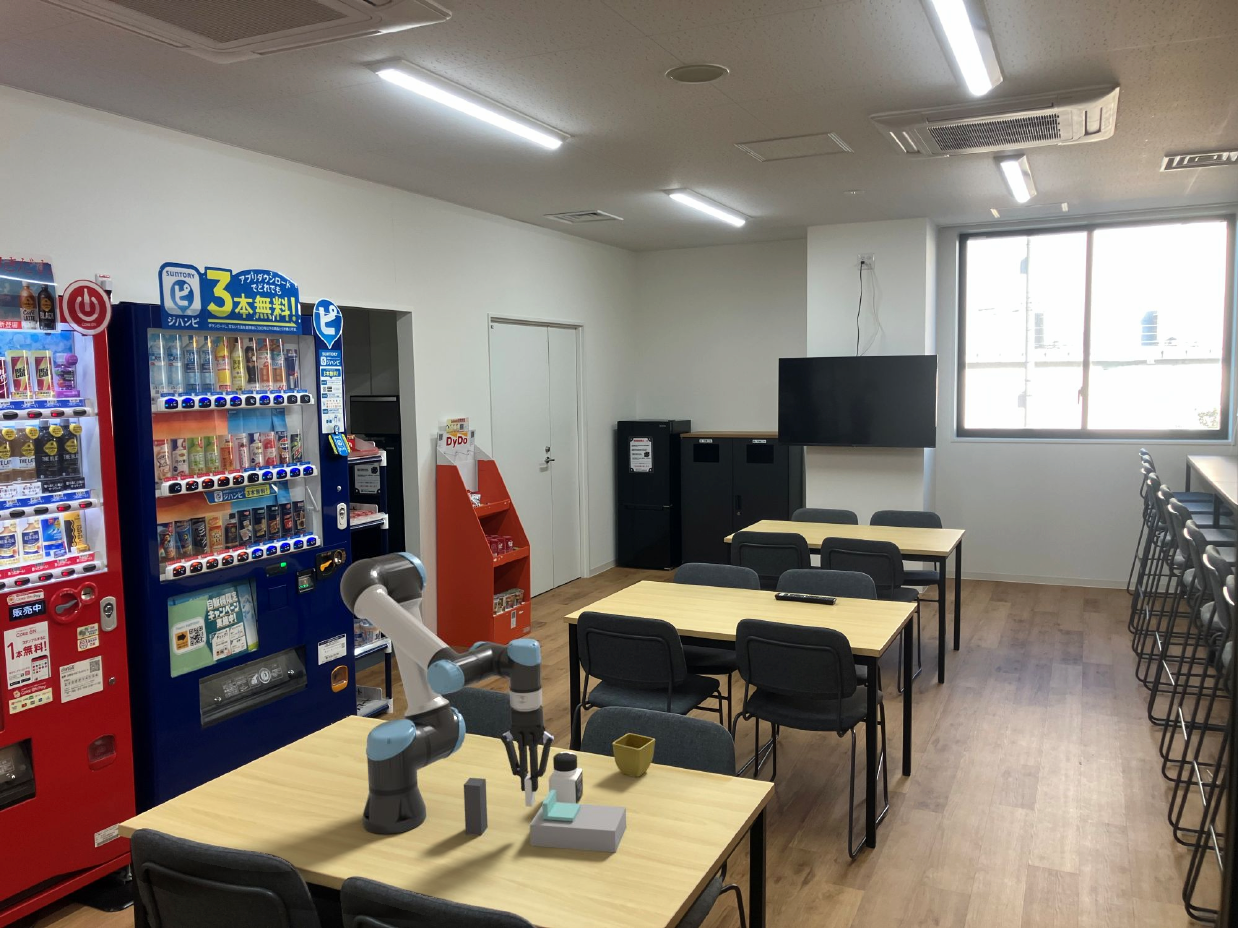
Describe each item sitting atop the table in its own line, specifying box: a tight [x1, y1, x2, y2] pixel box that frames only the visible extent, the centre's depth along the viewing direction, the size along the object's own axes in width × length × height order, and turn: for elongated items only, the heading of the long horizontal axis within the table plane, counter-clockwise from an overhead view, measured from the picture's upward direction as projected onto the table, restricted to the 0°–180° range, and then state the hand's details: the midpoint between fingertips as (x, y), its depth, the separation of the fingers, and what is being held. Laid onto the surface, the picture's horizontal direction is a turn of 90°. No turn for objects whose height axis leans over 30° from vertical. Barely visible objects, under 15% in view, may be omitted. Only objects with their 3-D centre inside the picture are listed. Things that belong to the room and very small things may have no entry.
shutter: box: [541, 790, 582, 821], centre depth 215 cm, size 7×7×4 cm
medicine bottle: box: [548, 751, 584, 804], centre depth 233 cm, size 7×7×12 cm
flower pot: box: [611, 732, 656, 778], centre depth 249 cm, size 9×9×9 cm
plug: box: [463, 777, 488, 836], centre depth 218 cm, size 4×4×12 cm
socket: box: [529, 802, 627, 853], centre depth 214 cm, size 20×12×5 cm, turn 78°
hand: (530, 803), depth 216 cm, fingers closed
